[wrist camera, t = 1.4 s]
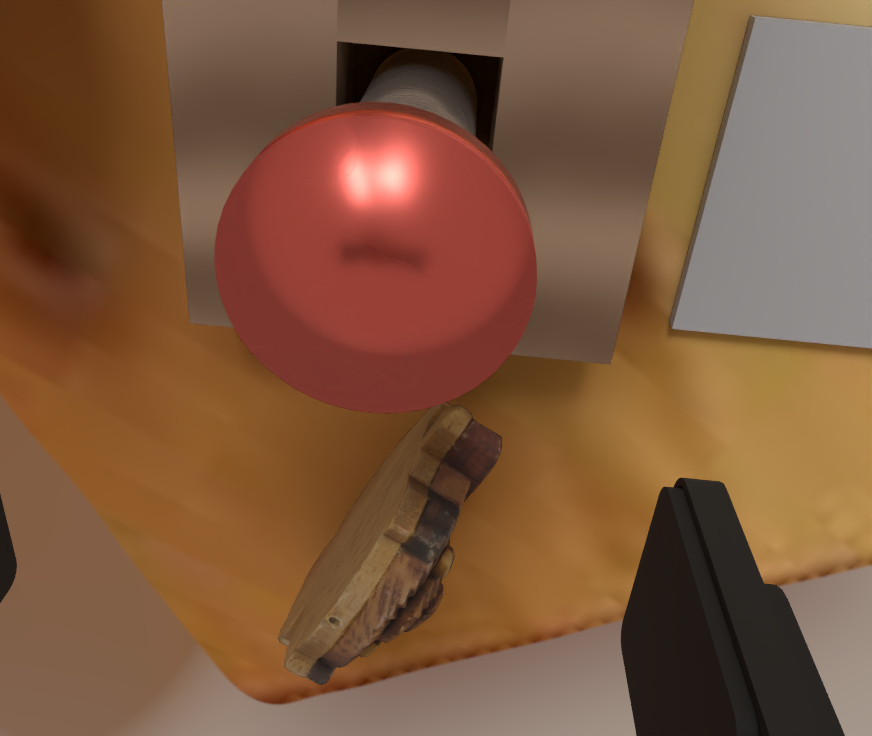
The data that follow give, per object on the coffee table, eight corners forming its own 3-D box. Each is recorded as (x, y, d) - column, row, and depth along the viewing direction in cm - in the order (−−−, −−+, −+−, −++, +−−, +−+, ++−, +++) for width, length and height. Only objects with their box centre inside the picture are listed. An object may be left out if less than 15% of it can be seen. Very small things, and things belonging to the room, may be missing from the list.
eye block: (190, -179, 26) (145, -185, 23) (692, -130, 26) (723, -129, 23) (219, 278, 34) (189, 323, 31) (598, 315, 34) (610, 364, 31)
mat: (750, 15, 28) (755, 18, 28) (1040, 43, 28) (1051, 46, 28) (669, 322, 34) (671, 328, 34) (906, 345, 34) (912, 352, 34)
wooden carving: (370, 600, 44) (342, 775, 36) (291, 570, 43) (243, 742, 35) (520, 371, 36) (530, 527, 28) (426, 328, 35) (408, 476, 27)
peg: (332, -7, 28) (203, 100, 15) (527, 12, 28) (561, 136, 15) (329, 182, 32) (223, 398, 19) (502, 199, 32) (514, 426, 19)
